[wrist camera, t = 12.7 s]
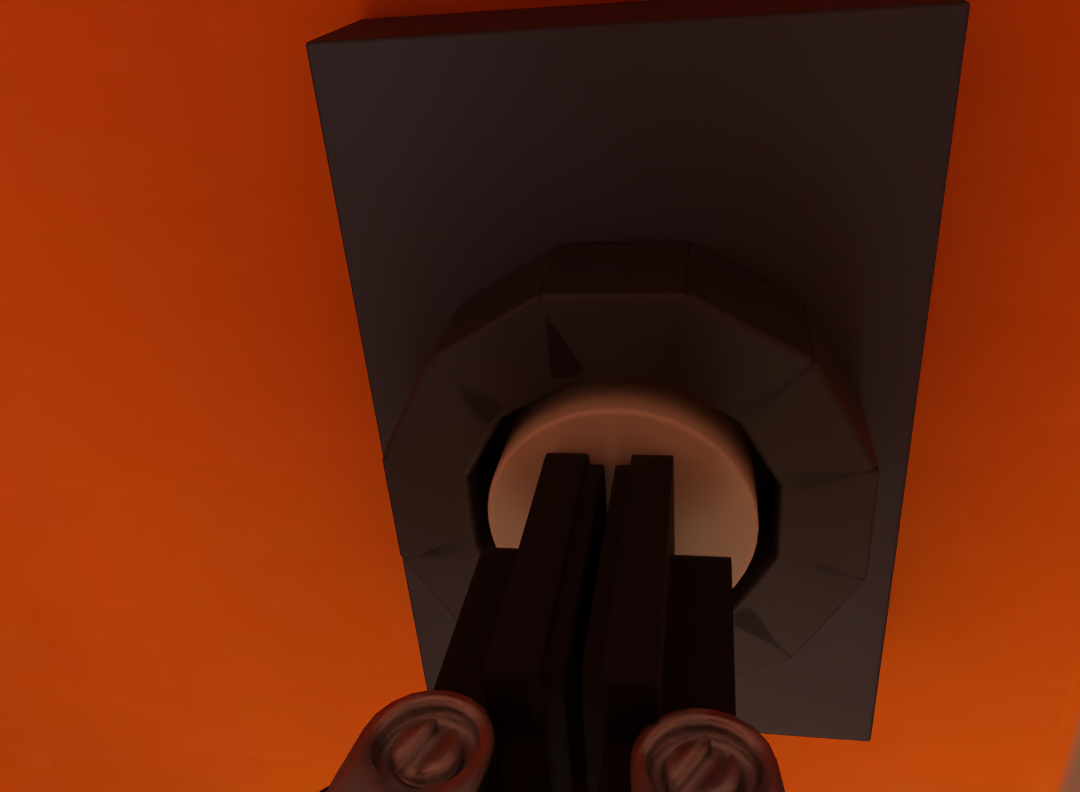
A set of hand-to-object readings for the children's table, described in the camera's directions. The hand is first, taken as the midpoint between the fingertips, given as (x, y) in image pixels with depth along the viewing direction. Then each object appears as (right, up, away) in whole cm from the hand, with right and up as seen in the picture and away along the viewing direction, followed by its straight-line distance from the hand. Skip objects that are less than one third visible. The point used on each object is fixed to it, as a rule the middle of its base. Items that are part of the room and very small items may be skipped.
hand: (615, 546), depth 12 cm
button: (0, +1, +1) cm, 2 cm away
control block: (+1, +2, +3) cm, 4 cm away
